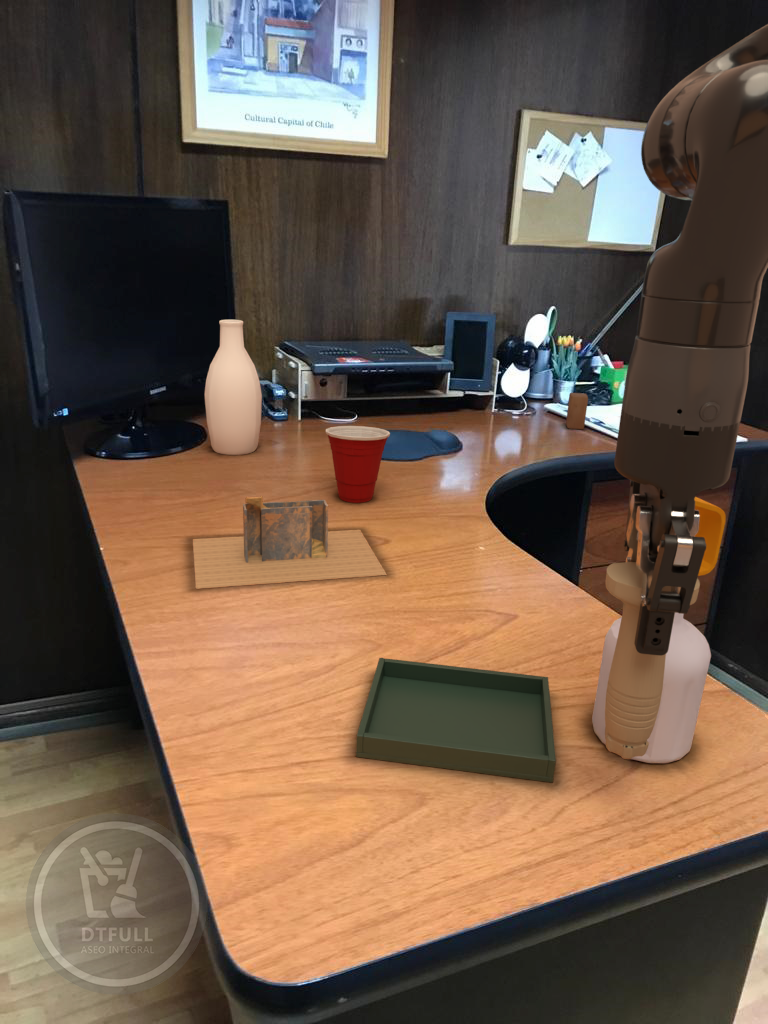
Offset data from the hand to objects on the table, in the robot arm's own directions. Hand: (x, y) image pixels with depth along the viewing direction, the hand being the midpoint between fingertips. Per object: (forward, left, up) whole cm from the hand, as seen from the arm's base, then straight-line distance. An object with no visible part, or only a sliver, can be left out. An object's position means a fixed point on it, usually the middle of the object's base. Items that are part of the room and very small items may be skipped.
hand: (643, 632), depth 57 cm
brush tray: (+13, -9, -17) cm, 23 cm away
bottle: (+63, -92, -17) cm, 113 cm away
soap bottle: (-4, -11, -17) cm, 21 cm away
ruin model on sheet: (+39, -43, -17) cm, 61 cm away
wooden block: (-8, -133, -17) cm, 134 cm away
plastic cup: (+34, -70, -17) cm, 80 cm away
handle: (0, 0, -11) cm, 11 cm away
